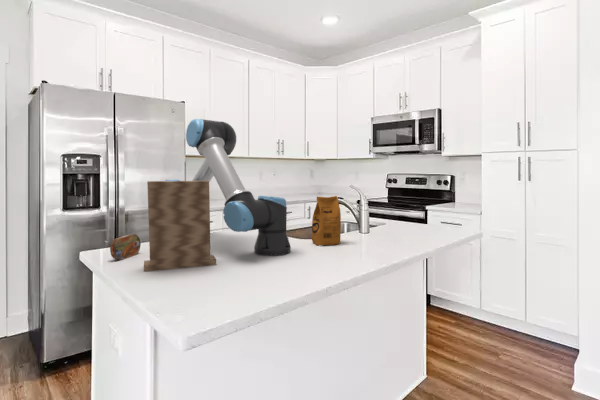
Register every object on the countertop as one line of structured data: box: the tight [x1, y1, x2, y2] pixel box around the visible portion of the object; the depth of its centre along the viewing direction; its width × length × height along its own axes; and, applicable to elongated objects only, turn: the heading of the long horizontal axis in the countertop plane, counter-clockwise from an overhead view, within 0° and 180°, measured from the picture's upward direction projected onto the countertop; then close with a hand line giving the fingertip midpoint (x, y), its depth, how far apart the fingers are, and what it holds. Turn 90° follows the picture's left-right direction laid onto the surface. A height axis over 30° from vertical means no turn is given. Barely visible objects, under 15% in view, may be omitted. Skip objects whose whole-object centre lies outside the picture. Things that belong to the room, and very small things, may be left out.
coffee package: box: [311, 195, 342, 246], centre depth 168 cm, size 10×12×22 cm
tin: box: [109, 233, 141, 261], centre depth 142 cm, size 15×3×8 cm, turn 168°
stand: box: [143, 180, 217, 272], centre depth 129 cm, size 24×7×30 cm, turn 112°
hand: (176, 221), depth 148 cm, fingers closed on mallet, 3 cm apart
